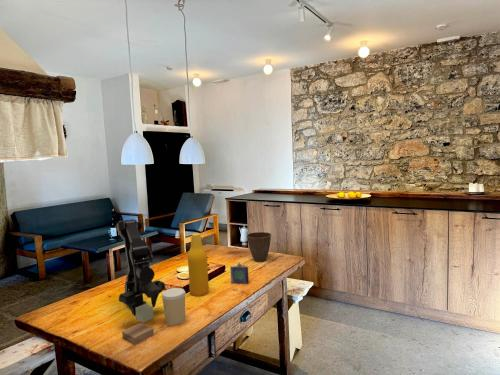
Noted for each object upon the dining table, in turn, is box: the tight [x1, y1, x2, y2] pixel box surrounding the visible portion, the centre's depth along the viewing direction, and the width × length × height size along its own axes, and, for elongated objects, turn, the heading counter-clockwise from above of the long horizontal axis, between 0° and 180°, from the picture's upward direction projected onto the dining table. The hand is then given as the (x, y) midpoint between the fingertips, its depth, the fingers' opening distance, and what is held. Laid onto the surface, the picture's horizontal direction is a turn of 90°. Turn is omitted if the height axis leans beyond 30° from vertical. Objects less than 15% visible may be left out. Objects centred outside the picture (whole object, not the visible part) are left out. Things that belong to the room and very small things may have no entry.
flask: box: [230, 262, 249, 285], centre depth 177 cm, size 9×3×11 cm, turn 79°
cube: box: [135, 303, 155, 324], centre depth 143 cm, size 5×5×5 cm
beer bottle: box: [187, 232, 210, 297], centre depth 166 cm, size 9×9×29 cm
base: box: [121, 322, 155, 346], centre depth 129 cm, size 8×8×3 cm
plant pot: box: [246, 231, 272, 263], centre depth 212 cm, size 15×15×16 cm
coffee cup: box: [161, 287, 186, 326], centre depth 139 cm, size 9×9×12 cm
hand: (144, 311), depth 143 cm, fingers open, 9 cm apart
